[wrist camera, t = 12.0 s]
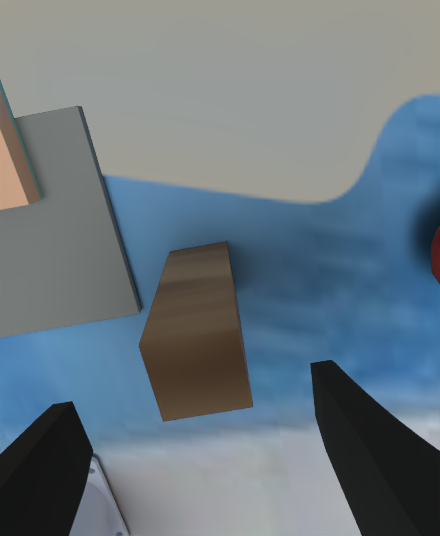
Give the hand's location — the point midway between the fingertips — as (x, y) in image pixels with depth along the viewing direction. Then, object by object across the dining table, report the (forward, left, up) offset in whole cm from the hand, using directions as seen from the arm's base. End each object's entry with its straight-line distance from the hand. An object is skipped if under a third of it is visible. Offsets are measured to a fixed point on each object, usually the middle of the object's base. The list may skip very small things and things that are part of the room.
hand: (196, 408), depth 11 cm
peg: (0, 0, -10) cm, 10 cm away
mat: (+4, +11, -10) cm, 16 cm away
